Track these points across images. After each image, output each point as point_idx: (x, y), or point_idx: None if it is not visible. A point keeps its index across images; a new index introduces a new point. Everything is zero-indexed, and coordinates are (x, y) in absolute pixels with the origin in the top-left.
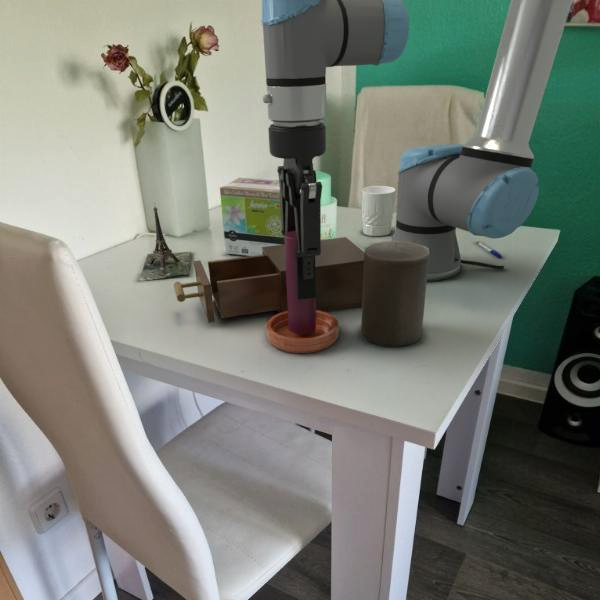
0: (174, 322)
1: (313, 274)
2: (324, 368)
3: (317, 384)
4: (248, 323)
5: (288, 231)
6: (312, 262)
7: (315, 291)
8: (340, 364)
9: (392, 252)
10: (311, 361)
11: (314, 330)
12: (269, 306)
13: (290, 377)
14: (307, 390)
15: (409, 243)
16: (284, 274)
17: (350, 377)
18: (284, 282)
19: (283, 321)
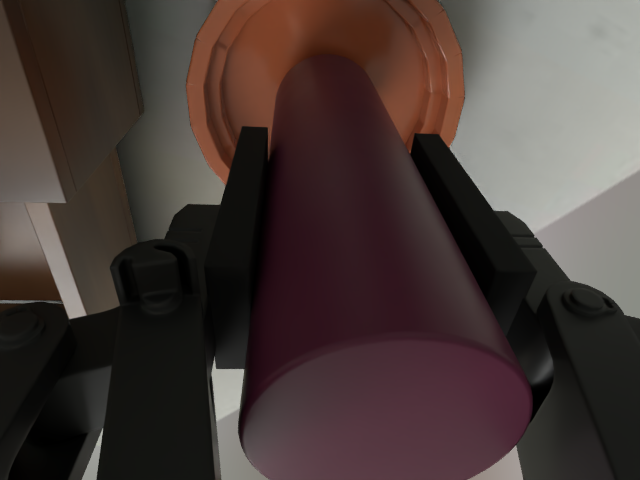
0: None
1: (526, 227)
2: (539, 99)
3: (595, 147)
4: (163, 219)
5: (219, 460)
6: (562, 280)
7: (446, 146)
8: (552, 40)
9: None
10: (479, 121)
11: (366, 73)
12: (113, 167)
13: (519, 197)
14: (599, 179)
15: None
16: (71, 175)
17: (637, 43)
18: (87, 157)
19: (235, 146)
